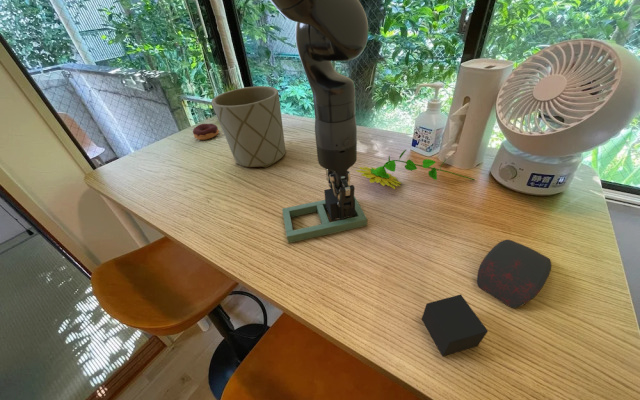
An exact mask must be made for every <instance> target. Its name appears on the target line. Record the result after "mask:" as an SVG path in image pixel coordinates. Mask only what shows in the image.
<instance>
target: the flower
mask: <svg viewBox="0 0 640 400" xmlns="http://www.w3.org/2000/svg"><path fill="white" fill-rule="evenodd" d="M406 151H407V149H404V150H403V152H401V154H400V155H399V159H392V160H391V155H389V156H388V161H386V162H385V163H384V164H383V165H381V166H378V167H372V166H371V167H368V166H359V169H357V170H355V172H357V173H360V176H362V177H365V178H366V179H369V183H370V184H374V183H377V184H380V185H381V186H382V187H385V186H387V187H390V188H392V189H393V190H396V187H401V182H400V181H398V180H399V178H397V177H396V176H394V175H392V174H391V173H388V172H387V171H390V172H393V173H395V172H396V166H397V164H396V162H400V163H405V165H404V169H405V170H407V171H411V172H413V171H416V170H417V169H418V167H422V168H423V169H431V170H428V174H427V175H428V177H430V178H431V179H433V180H435V181H437V180H438V177H437V176H438V172H437V171H440V172H443V173H444V172H445V173H449V174H451V175H454V176H459V177H462V178H465V179H469V180H472V181H476V180H475V178H472V177H468V176H466V175H462V174H459V173H455V172H451V171H448V170H444V169H442V166H443V165H444V163H446V161H447V158H445V159H444V161H443V162H442V164H441V165H440V166H439V168H436V167H431V166H433V165H435V164H436V161H435V160H432V159H430V158H429V159H428V158H427V159H423V160H422V161H421V162H422V164H417V163H415V162H414V161H413V160H411V159H407V160H406V161H404V160H401V159H402V157H403V156H404V154H405V153H406ZM417 166H418V167H417ZM395 186H396V187H395Z"/></svg>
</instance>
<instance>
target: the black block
mask: <svg viewBox="0 0 640 400" xmlns="http://www.w3.org/2000/svg"><path fill="white" fill-rule="evenodd" d="M421 321H422V322H423V325H424V326H425V329H426V330H427V332H428V334H429V335H430V337H431V339H432V341H433V343H434V344H435V347H436V348H437V349H438V351H439V354H440V355H441V357H446V356H449V355H452V354H455V353H459V352H462V351H466V350H469V349H472V348H476V347H478V346H479V345H480V344H481V342H482V341H483V339H484V338H485V336H486V335H487V333H488V332H489V330H488V329H487V327H486V326H485V325H484V324H483V322H482V321H481V320H480V318H479V317H478V315H477V314H476V313H475V311H474V310H473V309H472V307H471V306H470V305H469V303H468V302H467V301H466V299H465V298H464V296H463V295H462V294H457V295H453V296H450V297H446V298H443V299H442V298H441V299H439V300H434V301H431V302H428V303H426V304H425V307H424V310H423V313H422V317H421Z"/></svg>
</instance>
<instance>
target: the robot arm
mask: <svg viewBox="0 0 640 400" xmlns="http://www.w3.org/2000/svg"><path fill="white" fill-rule="evenodd" d="M269 1H270V3H271V4H272V5H273V6H274V8H276V10H277V11H279V14H281V15H282V16H283V17H284V18H286V19H287V20H289V21H290V22H293V23H295V28H294V29H295V30H294V38H295V39H294V41H295V45H296V50H297V53H298V57H299V59H300V62H301V65H302V68H303V70H304V73H305V76H306V80H307V82H308V84H309V87H310V90H311V92H312V102H313V112H314V135H315V145H316V146H315V147H316V153H317V154H316V155H317V162H318V165H319V166H320V167H321V168H323V169H325V174H326V181H327V183H328V187H329V189H332V188H333V194H334V195H335V196H336V198H337V205H338V217H339V219H338V220H343V219H347V218H350V216H349V208H353V200H354V196H355V186H354V184H351V173H350V171H349V169H350V168H351V167H353V166H354V165H355V164H356V162H357V155H358V149H357V148H358V146H357V145H358V129H357V128H358V127H357V118H356V85H355V81H354V80H353V79H352V78H351V77H348V76H347V75H345V74H341V73H339V72H338V71H336V69H335V67H334V65H333V62H350V61H353V60H355V59H357V58H359V56H360V55H362V53H363V52H364V50H365V49H366V46H367V43H368V40H369V33H370V31H369V21H368V17H367V13H366V11H365V9H364V7H363V5H362V3H361V2H360V0H269ZM336 189H340V190H339V191H336Z"/></svg>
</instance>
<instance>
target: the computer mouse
mask: <svg viewBox="0 0 640 400" xmlns="http://www.w3.org/2000/svg"><path fill="white" fill-rule="evenodd" d="M551 269H552V261H551V258H549V257H548V256H545V255H544V254H542V253H540V252H538V251H537V250H534V249H533V248H531V247H529V246H526V245H524V244H521V243H519V242H516V241H514V240H511V239H504V240H501V241H500V242H498V243H497V244H496V245H494V247H492V249H490V251H488V252H487V253H486V254H485V256H484V258H483V259H482V261H481V262H480V264H479V267H478V271H477V276H476V284H477V286H478V288H479V289H481V290H482V291H484V292H486V293H487V294H489V295H491V296H492V297H494V298H496V299H497V300H499V301H500V302H502V303H503V304H505V305H506V306H508V307H509V308H513V309H515V308H519V307H521V306H523V305H525V304H527V303H529V302H530V301H531V300H533V299H534V298H536V296H537V295H538V294H539V293H540V292H541V291H542V289H543V287H544V286H545V284H546V282H547V280H548V278H549V275H550V274H551Z"/></svg>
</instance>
